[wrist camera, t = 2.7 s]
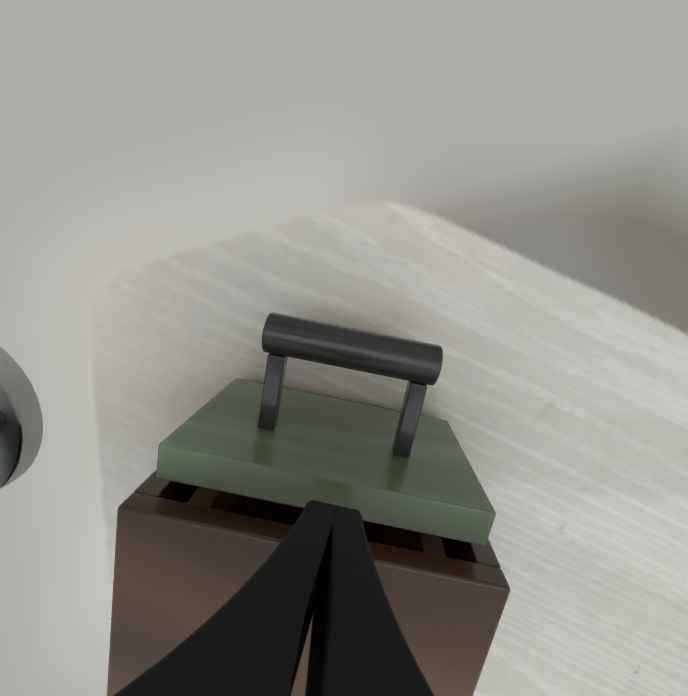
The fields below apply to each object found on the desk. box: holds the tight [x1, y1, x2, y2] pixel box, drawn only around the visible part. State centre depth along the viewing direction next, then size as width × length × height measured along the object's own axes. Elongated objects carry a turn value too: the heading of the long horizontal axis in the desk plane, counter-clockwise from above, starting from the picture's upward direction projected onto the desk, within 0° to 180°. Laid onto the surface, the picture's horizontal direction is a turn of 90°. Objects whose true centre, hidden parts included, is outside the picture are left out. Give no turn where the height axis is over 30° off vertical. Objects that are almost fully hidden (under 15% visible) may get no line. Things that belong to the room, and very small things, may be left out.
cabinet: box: [107, 470, 510, 696], centre depth 16 cm, size 13×12×9 cm
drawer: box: [156, 313, 496, 557], centre depth 15 cm, size 16×10×7 cm, turn 169°
